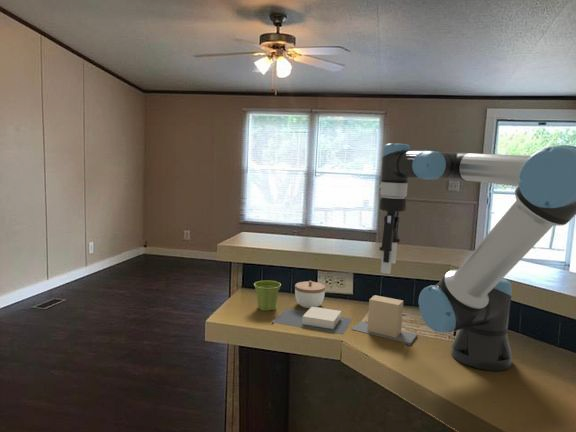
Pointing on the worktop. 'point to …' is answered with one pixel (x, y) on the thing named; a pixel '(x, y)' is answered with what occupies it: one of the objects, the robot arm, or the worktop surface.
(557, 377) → the worktop surface
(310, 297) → the lidded jar
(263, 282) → the plant pot
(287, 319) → the mat
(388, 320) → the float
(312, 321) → the tile
